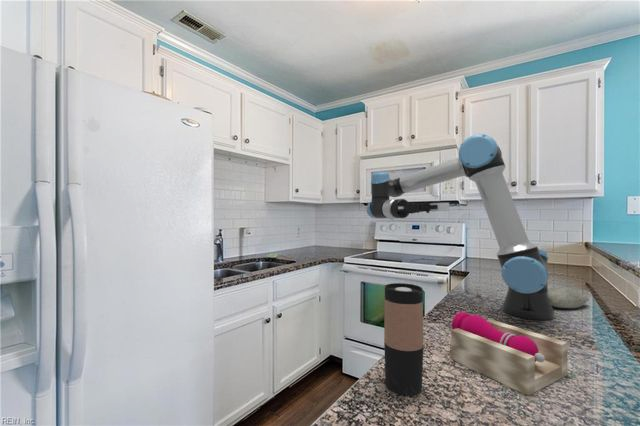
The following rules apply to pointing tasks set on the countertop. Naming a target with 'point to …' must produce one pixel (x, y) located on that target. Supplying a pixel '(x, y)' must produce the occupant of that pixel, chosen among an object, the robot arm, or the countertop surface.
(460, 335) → the u rest
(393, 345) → the travel mug
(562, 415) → the countertop surface
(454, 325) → the pepper mill
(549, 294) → the rock
